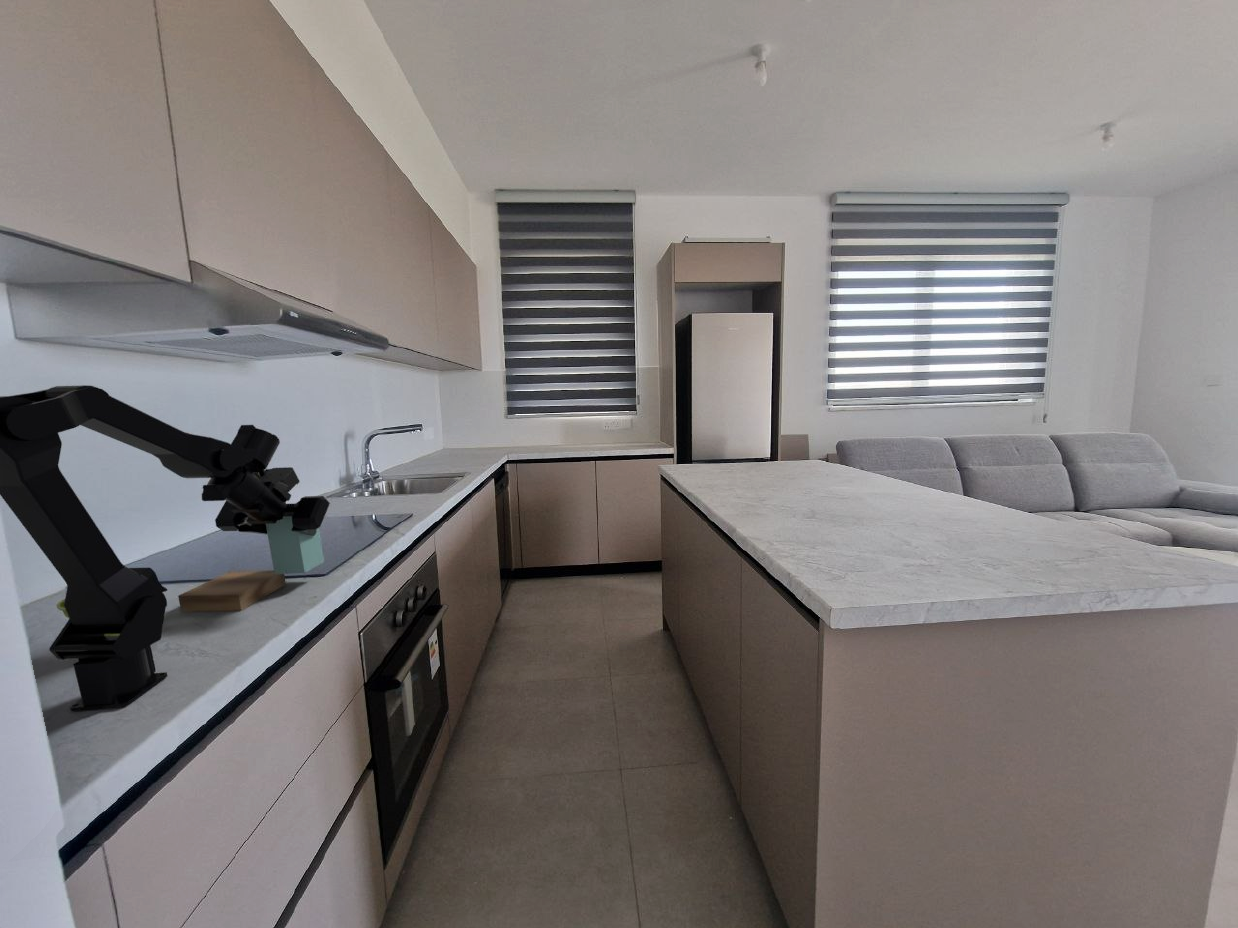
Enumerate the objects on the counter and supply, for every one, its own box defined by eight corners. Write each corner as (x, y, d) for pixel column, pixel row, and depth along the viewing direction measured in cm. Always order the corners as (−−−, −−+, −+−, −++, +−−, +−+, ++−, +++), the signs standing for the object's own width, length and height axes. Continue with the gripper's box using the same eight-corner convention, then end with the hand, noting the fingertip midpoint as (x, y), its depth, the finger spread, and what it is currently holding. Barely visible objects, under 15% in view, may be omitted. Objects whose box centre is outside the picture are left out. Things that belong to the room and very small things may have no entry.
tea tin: (305, 573, 91) (294, 511, 89) (273, 574, 91) (262, 513, 89) (325, 561, 97) (315, 503, 95) (295, 562, 97) (286, 505, 95)
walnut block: (241, 610, 83) (238, 594, 83) (181, 611, 83) (178, 595, 83) (285, 584, 94) (283, 570, 94) (232, 585, 94) (230, 571, 94)
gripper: (316, 454, 86) (357, 498, 99) (218, 456, 87) (271, 500, 99) (292, 506, 80) (339, 546, 92) (185, 508, 80) (247, 548, 93)
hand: (299, 533), depth 94 cm, fingers closed on tea tin, 6 cm apart
